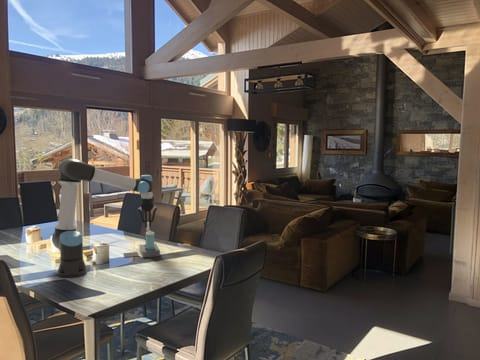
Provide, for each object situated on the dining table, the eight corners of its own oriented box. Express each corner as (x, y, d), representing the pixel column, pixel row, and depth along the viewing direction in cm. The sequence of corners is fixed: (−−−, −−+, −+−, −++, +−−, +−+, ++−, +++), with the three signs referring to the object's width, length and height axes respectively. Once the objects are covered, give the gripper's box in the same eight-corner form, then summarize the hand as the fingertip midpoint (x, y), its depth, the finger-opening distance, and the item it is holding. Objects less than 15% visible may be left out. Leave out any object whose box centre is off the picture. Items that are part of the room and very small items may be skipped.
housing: (159, 256, 247) (159, 250, 247) (142, 257, 243) (142, 251, 243) (155, 249, 263) (155, 243, 263) (139, 250, 259) (139, 244, 259)
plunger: (145, 249, 255) (145, 238, 254) (144, 247, 259) (144, 237, 258) (152, 248, 256) (152, 238, 255) (151, 246, 260) (151, 236, 260)
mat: (124, 257, 243) (124, 257, 243) (123, 253, 251) (123, 253, 251) (138, 256, 246) (138, 255, 246) (137, 252, 254) (137, 251, 254)
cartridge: (146, 256, 246) (146, 232, 244) (145, 254, 251) (145, 230, 249) (155, 255, 248) (154, 231, 246) (153, 253, 253) (153, 229, 251)
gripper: (137, 199, 248) (138, 234, 250) (157, 198, 252) (158, 232, 255) (136, 197, 255) (137, 231, 257) (155, 196, 259) (156, 229, 262)
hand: (148, 231), depth 256 cm, fingers closed
